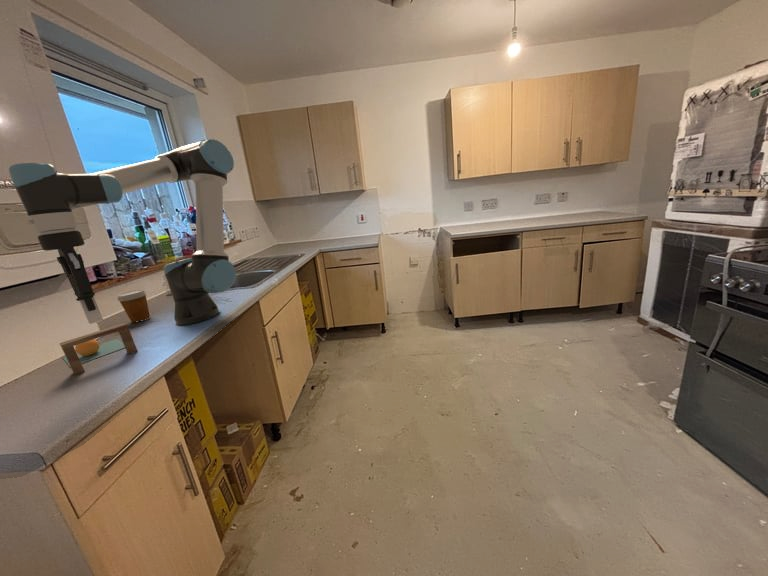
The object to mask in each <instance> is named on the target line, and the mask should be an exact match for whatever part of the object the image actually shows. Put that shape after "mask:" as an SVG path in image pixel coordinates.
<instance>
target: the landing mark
mask: <svg viewBox="0 0 768 576" xmlns="http://www.w3.org/2000/svg"><path fill="white" fill-rule="evenodd" d="M101 344H102V345H101V346H99V350H98V351H97V352H96V353H95V354H93V355H90V356H82V355H81V356H80V357H78V358H79V360H80V362H81V364H82V363H83V364H85V363H88V362H91V361H93V359H94V360H97V359H98V358H102V357H105V356H107V355H110V354H112V353H115V352H119V351H121V350H123V349H125V346H124V344H123V341H121V340H119V339H118V338H115V339H112V340H108V341H107V342H106V341H105V342H103V343H101ZM63 357H64V358H63ZM63 357H62V359H63V361H65V363H66V364H67V363H68V364H67V365H68V366H69V367H70V364H69V362H68V360H67V358H66V357H65V356H63ZM83 364H82V365H83Z"/></svg>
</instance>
